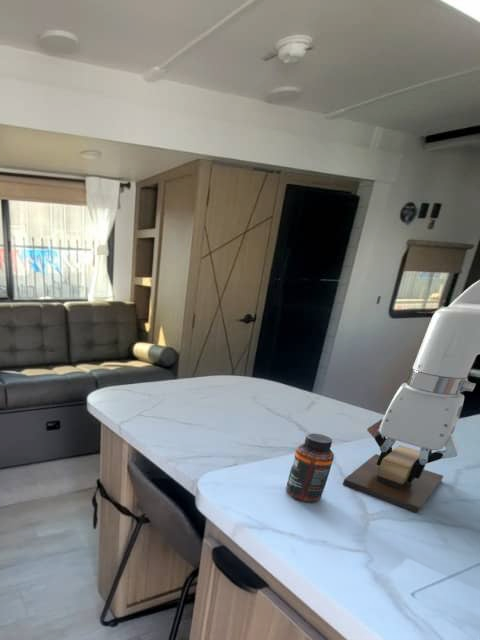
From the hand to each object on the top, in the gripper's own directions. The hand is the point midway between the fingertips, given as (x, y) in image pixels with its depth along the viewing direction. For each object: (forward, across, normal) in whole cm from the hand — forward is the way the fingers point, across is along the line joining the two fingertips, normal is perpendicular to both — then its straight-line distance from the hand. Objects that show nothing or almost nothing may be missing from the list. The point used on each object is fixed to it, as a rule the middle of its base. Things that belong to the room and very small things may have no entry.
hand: (396, 473), depth 78 cm
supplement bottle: (+2, +9, +19) cm, 21 cm away
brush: (+1, 0, 0) cm, 1 cm away
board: (+2, 0, 0) cm, 2 cm away
